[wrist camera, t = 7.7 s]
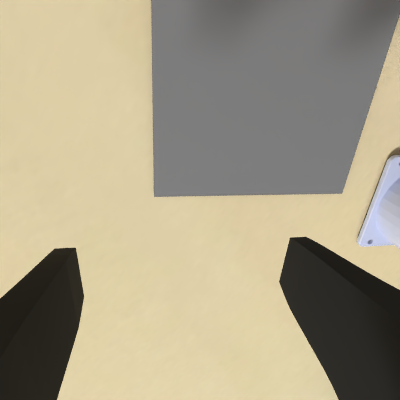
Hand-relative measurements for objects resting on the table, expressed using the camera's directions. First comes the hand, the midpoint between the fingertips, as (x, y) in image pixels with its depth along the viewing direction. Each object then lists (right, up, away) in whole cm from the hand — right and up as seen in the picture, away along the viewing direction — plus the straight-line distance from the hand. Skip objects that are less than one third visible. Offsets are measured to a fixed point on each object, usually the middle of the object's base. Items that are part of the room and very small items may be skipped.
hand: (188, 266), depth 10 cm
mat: (+5, +8, +8) cm, 12 cm away
